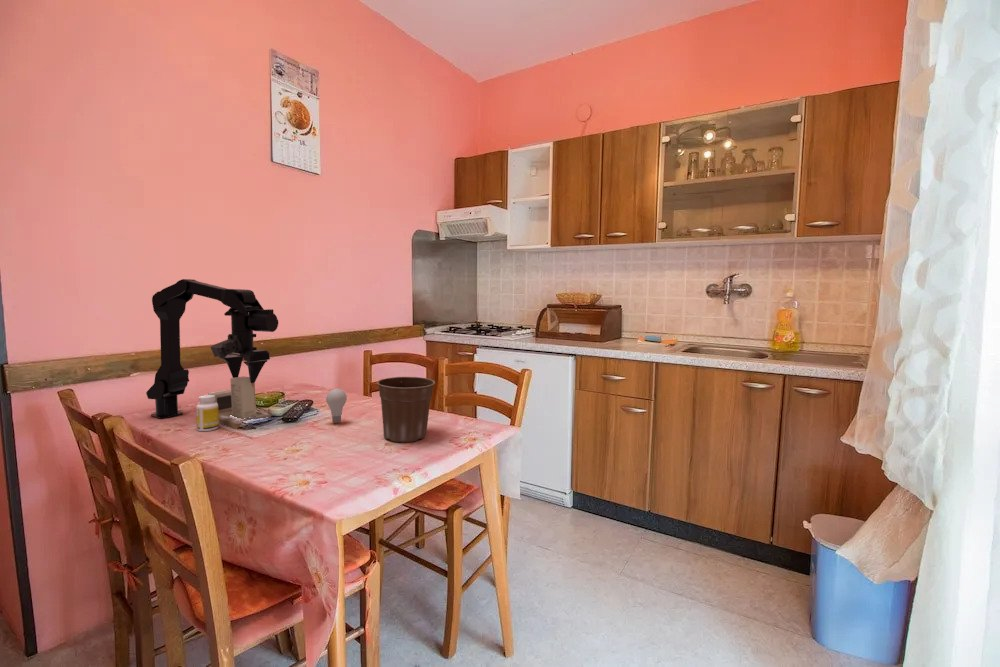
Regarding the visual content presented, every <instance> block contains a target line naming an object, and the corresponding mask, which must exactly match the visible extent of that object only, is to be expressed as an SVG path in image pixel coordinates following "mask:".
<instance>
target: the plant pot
mask: <svg viewBox="0 0 1000 667" xmlns="http://www.w3.org/2000/svg"><path fill="white" fill-rule="evenodd" d="M376 384H377V386H378V392H379V393H378V394H379V397H380V403H381V414H382V428H383V429H382V430H383V437H384V439H386V441H387V440H390V441H391V442H393V443H403V444H404V443H411V442H412V443H413V442H417V441H418V440H419V439H420V440H423V439H425V438H426V437H427V433H428V432H427V429H428V423H429V414H430V406H431V398H432V397H433V390H434V386H435V385H436V382H435V380H433V379H431V378H427V377H419V376H395V377H387V378H382V379H380V380H378V381H377V382H376ZM425 436H426V437H425ZM424 437H425V438H424Z"/></svg>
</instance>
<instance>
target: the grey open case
mask: <svg viewBox="0 0 1000 667" xmlns="http://www.w3.org/2000/svg"><path fill="white" fill-rule="evenodd" d="M207 395H215V401H214V402H216V403H217V404H218V412H219V425H223V426H225V425H226V427H228V426H230V427H229V428H232V427H234V428H233V429H235V428H238V427H240V425H241V423H242V422H243V421H247V420H251V419H258V418H266V417H271V416H272V415H271V414H270V413H267V412H263V411H259V410H256V416H257V417H253V418H248V419H244V420H240V421H239V420H236V419H232V418H229V417H228V416H230V415H232V400H231V389H225V390H219V391H214V392H212V391H211V392H208V393H207Z"/></svg>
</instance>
